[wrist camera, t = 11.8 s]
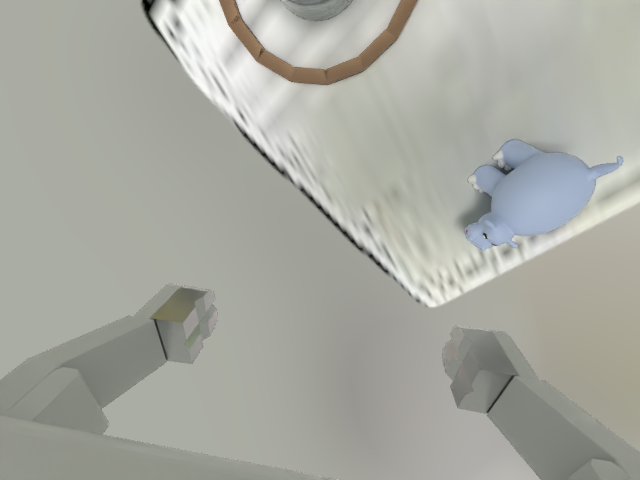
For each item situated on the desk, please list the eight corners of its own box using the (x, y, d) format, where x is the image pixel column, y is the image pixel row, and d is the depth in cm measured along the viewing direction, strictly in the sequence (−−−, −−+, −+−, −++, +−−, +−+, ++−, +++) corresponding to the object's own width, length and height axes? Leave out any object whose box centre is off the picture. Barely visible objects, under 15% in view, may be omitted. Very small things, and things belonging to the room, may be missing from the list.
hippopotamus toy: (434, 207, 38) (457, 236, 30) (530, 118, 32) (593, 124, 23) (483, 248, 40) (517, 286, 32) (582, 173, 34) (657, 195, 25)
